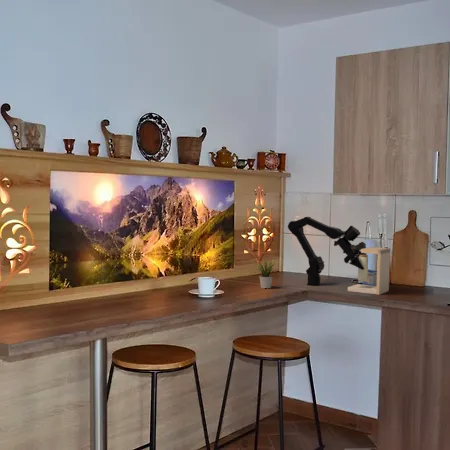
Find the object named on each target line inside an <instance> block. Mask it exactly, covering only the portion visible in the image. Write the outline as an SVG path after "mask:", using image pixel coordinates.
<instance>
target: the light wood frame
mask: <svg viewBox="0 0 450 450" xmlns="http://www.w3.org/2000/svg"><path fill="white" fill-rule="evenodd" d="M360 251H361V253H367V254H370V255H371V254H372V255H377V264H376V265H377V267H376V271H377V286H370V285H363V284H359V283H357V284H354V285H350V286H347V292H355V293H362V294H370V295H371V294H373V295H378V296H379V295H382V294H385V293H387V292H389V289H390V267H391V266H390V265H391V247H379V246H378V247H376V246H370V247H369V246H368V247H366V248H364V249H361V250H360Z"/></svg>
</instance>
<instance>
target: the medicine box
mask: <svg viewBox="0 0 450 450" xmlns="http://www.w3.org/2000/svg"><path fill="white" fill-rule="evenodd" d="M361 283H362V284H361V285H370V286H377V269H376V270H375V269H369V268H368V279H367V281H361Z"/></svg>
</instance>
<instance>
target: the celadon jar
mask: <svg viewBox="0 0 450 450" xmlns="http://www.w3.org/2000/svg"><path fill="white" fill-rule="evenodd" d="M368 255H369V254H366V255H365V254H360V255H359V261H360V262H361V264H362V266H363V267H364V270H362V269H360V268H358V267H357V268H358V269H357V272H358V273H357V281H358V282H362V281H367V279H368V269H369V256H368Z"/></svg>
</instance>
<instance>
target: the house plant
mask: <svg viewBox="0 0 450 450" xmlns="http://www.w3.org/2000/svg"><path fill="white" fill-rule="evenodd" d="M261 259H262V258H261ZM262 261H263V263H264V266H263V265H262V263H261V262H260V261H256V263H257V268H256V270H257V271H259V273H260V274H261V275H259V282H260V288H261V289H263V288H270V289H271V288H272V281H273V278H274V276H272V275H271V274H272V273H273V274H274V273H275V274H276V272H277V270H276V269H275V270H273V269H274V265H276V264H278V261H277V262H274V261H275V259H273V260H271V261H270V262H269V264H268V263H267V260H264V259H262ZM272 270H273V271H272ZM275 271H276V272H275Z"/></svg>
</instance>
